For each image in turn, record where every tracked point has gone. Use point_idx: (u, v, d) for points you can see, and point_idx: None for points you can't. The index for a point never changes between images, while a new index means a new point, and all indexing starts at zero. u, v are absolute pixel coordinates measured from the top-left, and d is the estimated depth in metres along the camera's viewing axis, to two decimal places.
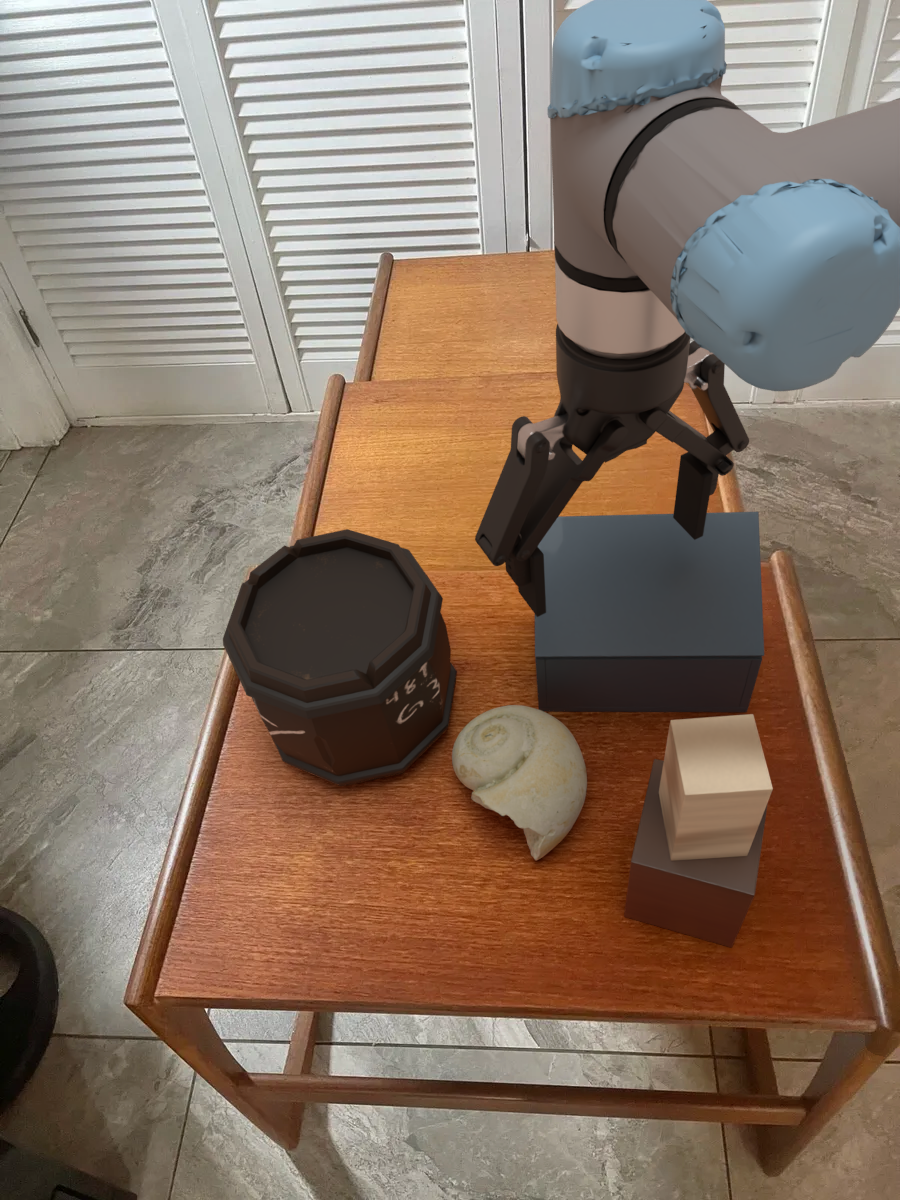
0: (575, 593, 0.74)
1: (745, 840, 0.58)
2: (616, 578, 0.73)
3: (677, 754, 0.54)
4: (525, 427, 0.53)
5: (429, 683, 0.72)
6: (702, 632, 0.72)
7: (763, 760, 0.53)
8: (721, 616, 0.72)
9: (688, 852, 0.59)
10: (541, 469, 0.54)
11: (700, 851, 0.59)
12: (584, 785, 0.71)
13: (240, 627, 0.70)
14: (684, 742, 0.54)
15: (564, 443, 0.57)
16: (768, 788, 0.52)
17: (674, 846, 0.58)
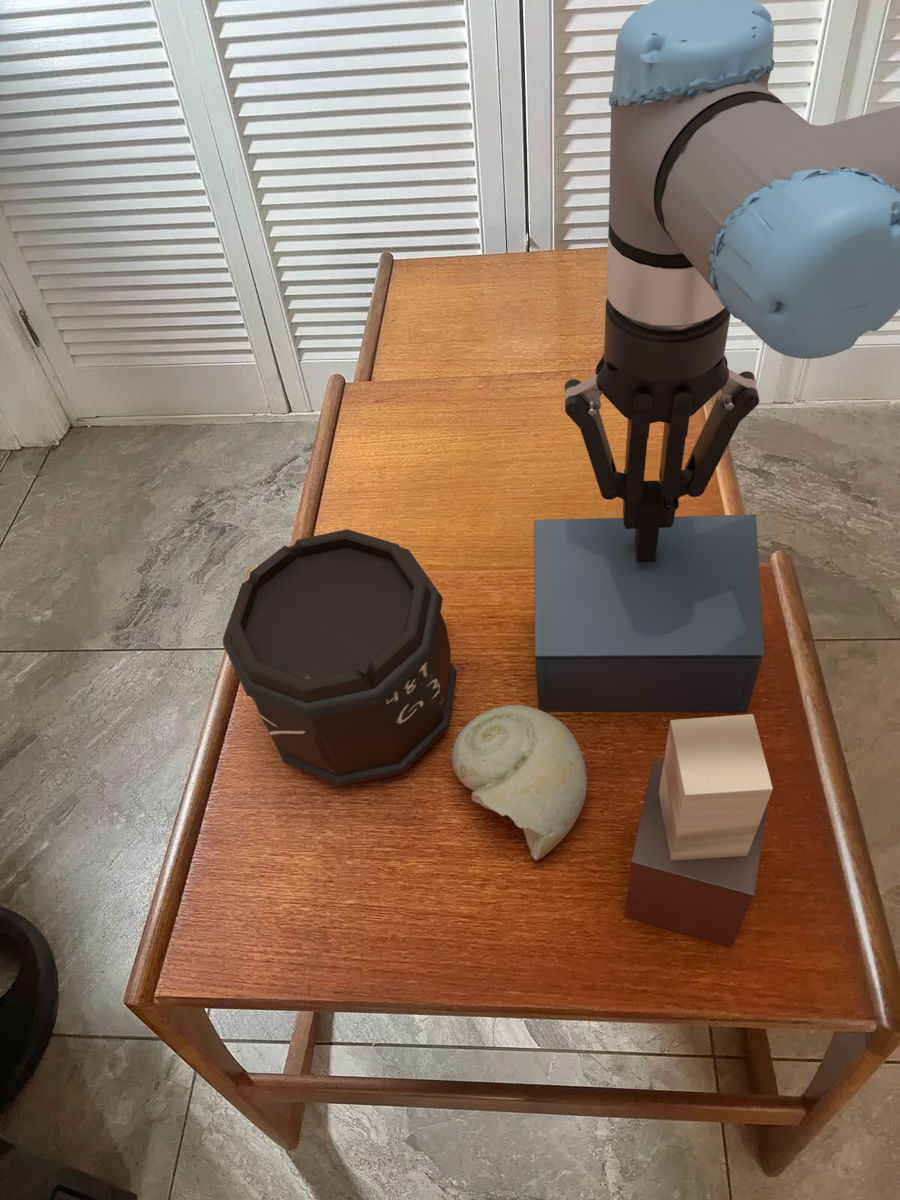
0: (575, 594, 0.74)
1: (745, 840, 0.58)
2: (616, 579, 0.74)
3: (677, 754, 0.54)
4: (566, 391, 0.61)
5: (429, 683, 0.72)
6: (702, 632, 0.72)
7: (763, 760, 0.53)
8: (720, 617, 0.72)
9: (688, 852, 0.59)
10: (590, 423, 0.61)
11: (700, 851, 0.59)
12: (584, 785, 0.71)
13: (240, 627, 0.70)
14: (684, 742, 0.54)
15: None
16: (768, 788, 0.52)
17: (674, 846, 0.58)
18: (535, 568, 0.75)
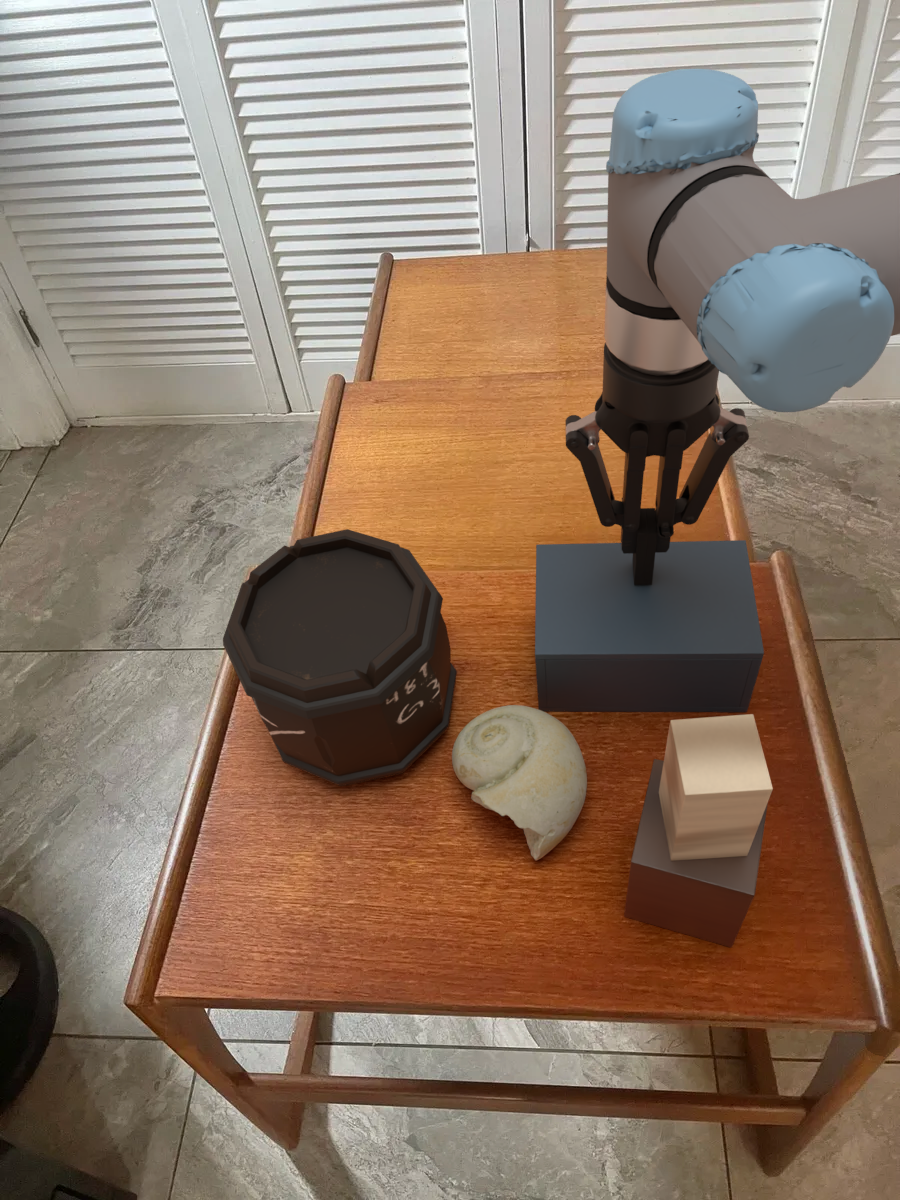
0: (575, 602, 0.76)
1: (745, 840, 0.58)
2: (614, 590, 0.76)
3: (677, 754, 0.54)
4: (567, 426, 0.65)
5: (429, 683, 0.72)
6: (701, 633, 0.73)
7: (763, 760, 0.53)
8: (718, 621, 0.73)
9: (688, 852, 0.59)
10: (589, 457, 0.65)
11: (700, 851, 0.59)
12: (584, 785, 0.71)
13: (240, 627, 0.70)
14: (684, 742, 0.54)
15: None
16: (768, 788, 0.52)
17: (674, 846, 0.58)
18: (536, 582, 0.78)
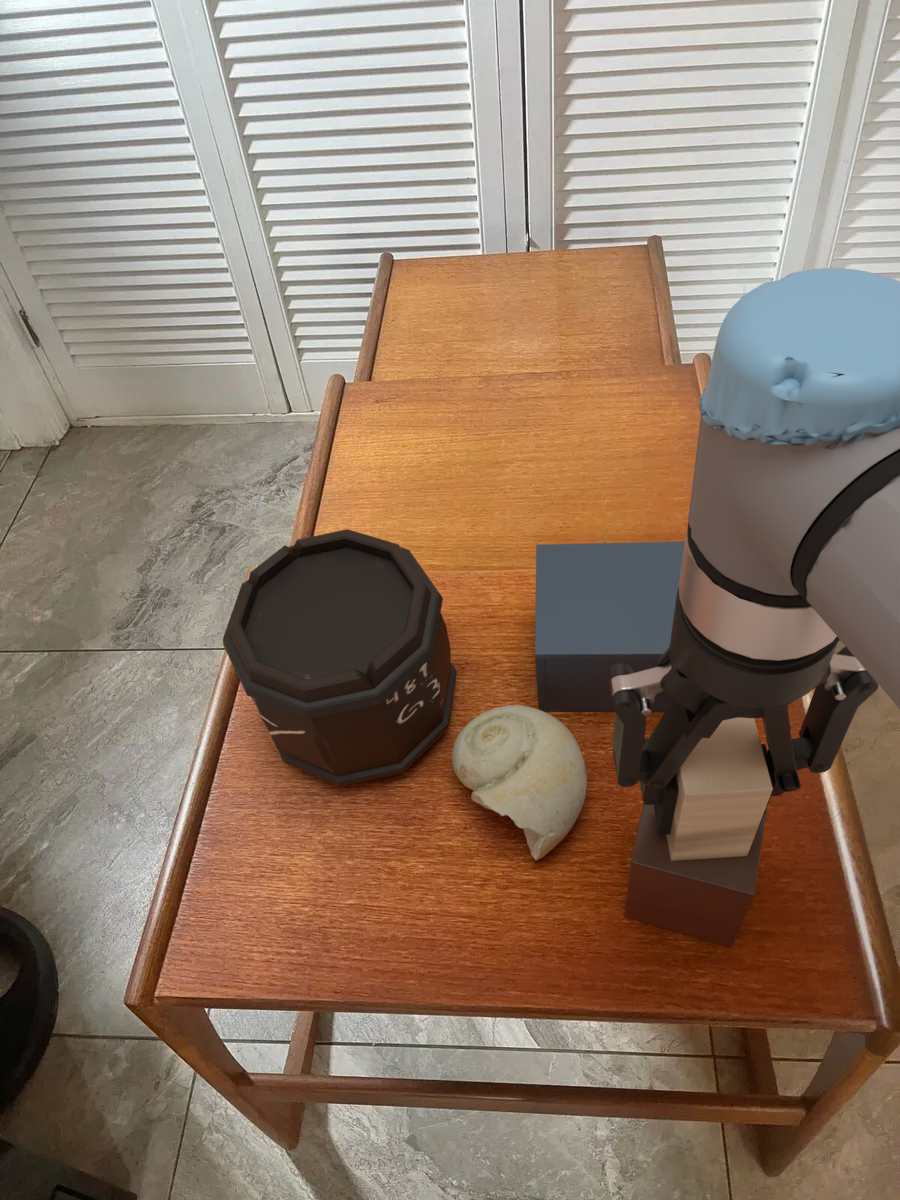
0: (575, 602, 0.76)
1: (745, 840, 0.58)
2: (614, 590, 0.76)
3: None
4: (614, 679, 0.47)
5: (429, 683, 0.72)
6: None
7: (763, 760, 0.53)
8: None
9: (688, 852, 0.59)
10: (638, 721, 0.48)
11: (700, 851, 0.59)
12: (584, 785, 0.71)
13: (240, 627, 0.70)
14: None
15: None
16: (768, 788, 0.52)
17: (674, 846, 0.58)
18: (536, 582, 0.78)
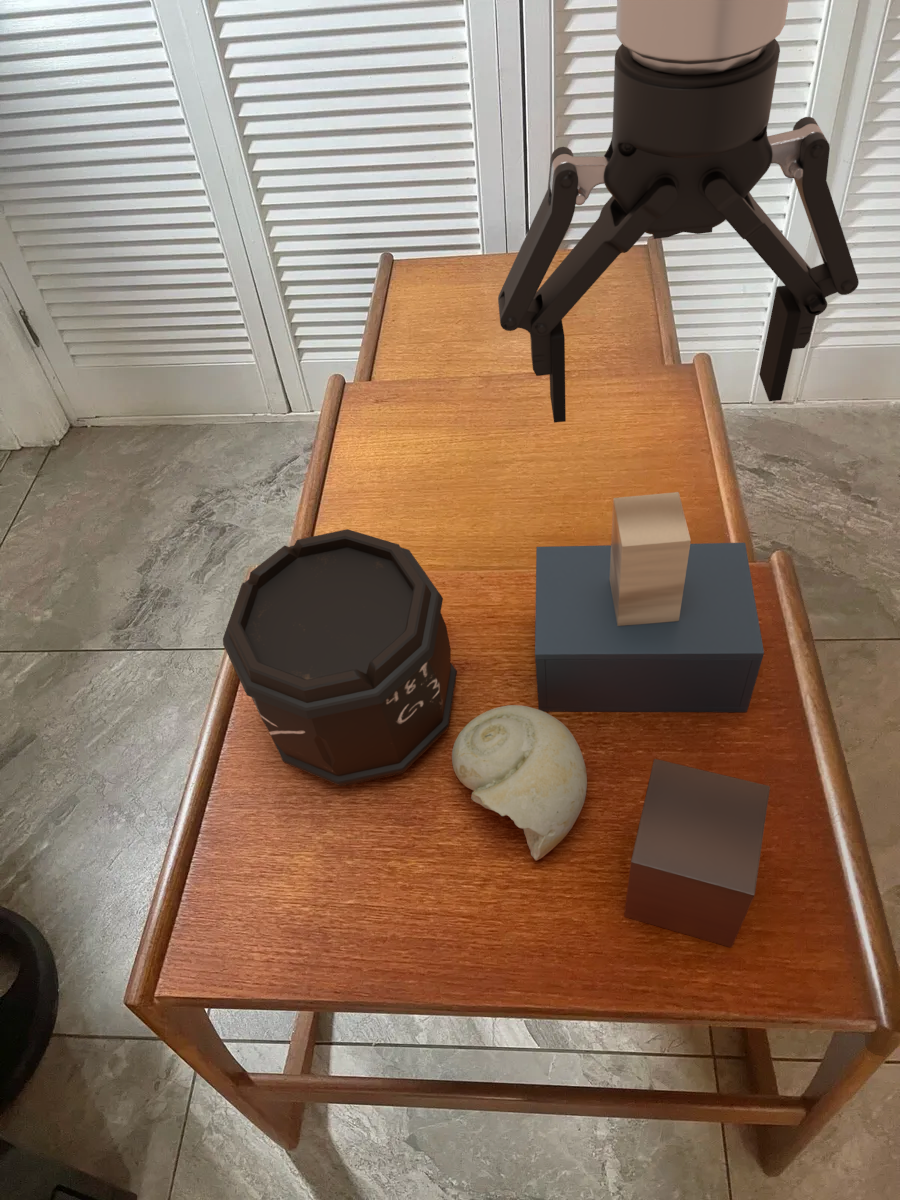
0: (575, 603, 0.76)
1: (675, 601, 0.72)
2: None
3: (617, 520, 0.68)
4: (560, 157, 0.46)
5: (429, 683, 0.72)
6: (701, 634, 0.73)
7: (684, 522, 0.67)
8: (718, 621, 0.73)
9: (631, 616, 0.73)
10: (566, 213, 0.47)
11: (640, 614, 0.73)
12: (584, 785, 0.71)
13: (240, 627, 0.70)
14: (623, 512, 0.68)
15: (617, 207, 0.49)
16: (687, 540, 0.66)
17: (618, 608, 0.72)
18: (536, 583, 0.78)
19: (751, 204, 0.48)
